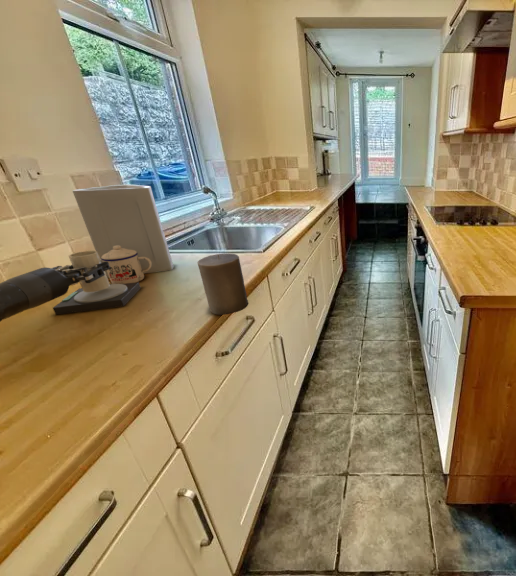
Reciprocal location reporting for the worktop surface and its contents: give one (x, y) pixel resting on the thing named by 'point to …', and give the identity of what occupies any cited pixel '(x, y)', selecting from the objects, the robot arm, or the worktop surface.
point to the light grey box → (125, 223)
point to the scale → (97, 298)
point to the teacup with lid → (124, 265)
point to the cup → (86, 261)
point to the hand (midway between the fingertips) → (96, 264)
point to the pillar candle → (223, 283)
